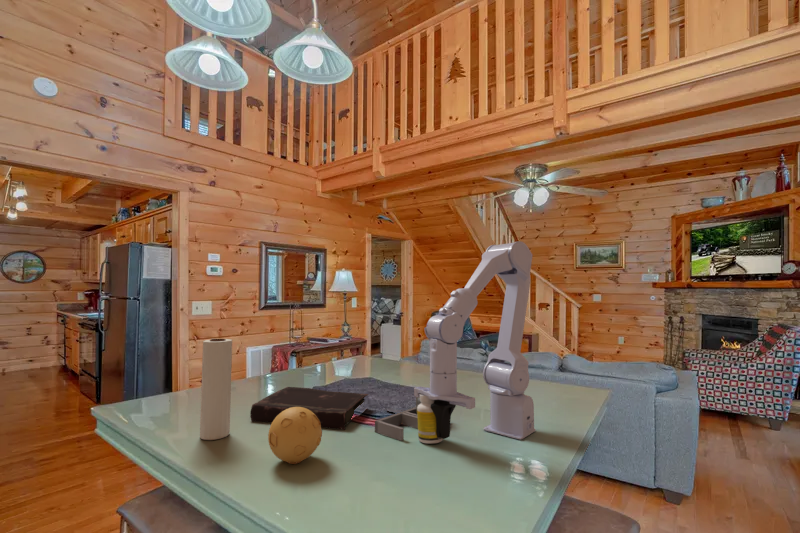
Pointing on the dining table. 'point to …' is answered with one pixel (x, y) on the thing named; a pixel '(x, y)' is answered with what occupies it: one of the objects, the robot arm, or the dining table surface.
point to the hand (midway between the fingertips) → (443, 436)
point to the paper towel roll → (216, 389)
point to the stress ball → (294, 434)
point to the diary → (310, 405)
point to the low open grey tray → (398, 423)
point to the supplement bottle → (426, 421)
